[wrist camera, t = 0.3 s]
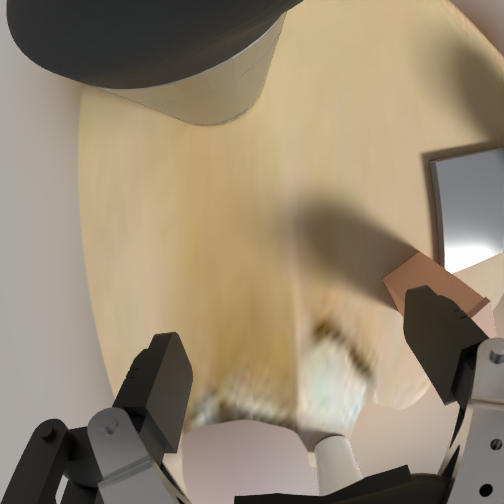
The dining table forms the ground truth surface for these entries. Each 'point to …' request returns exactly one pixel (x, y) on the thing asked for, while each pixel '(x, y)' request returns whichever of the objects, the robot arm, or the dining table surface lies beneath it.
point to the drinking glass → (335, 465)
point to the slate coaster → (469, 207)
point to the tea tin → (439, 289)
